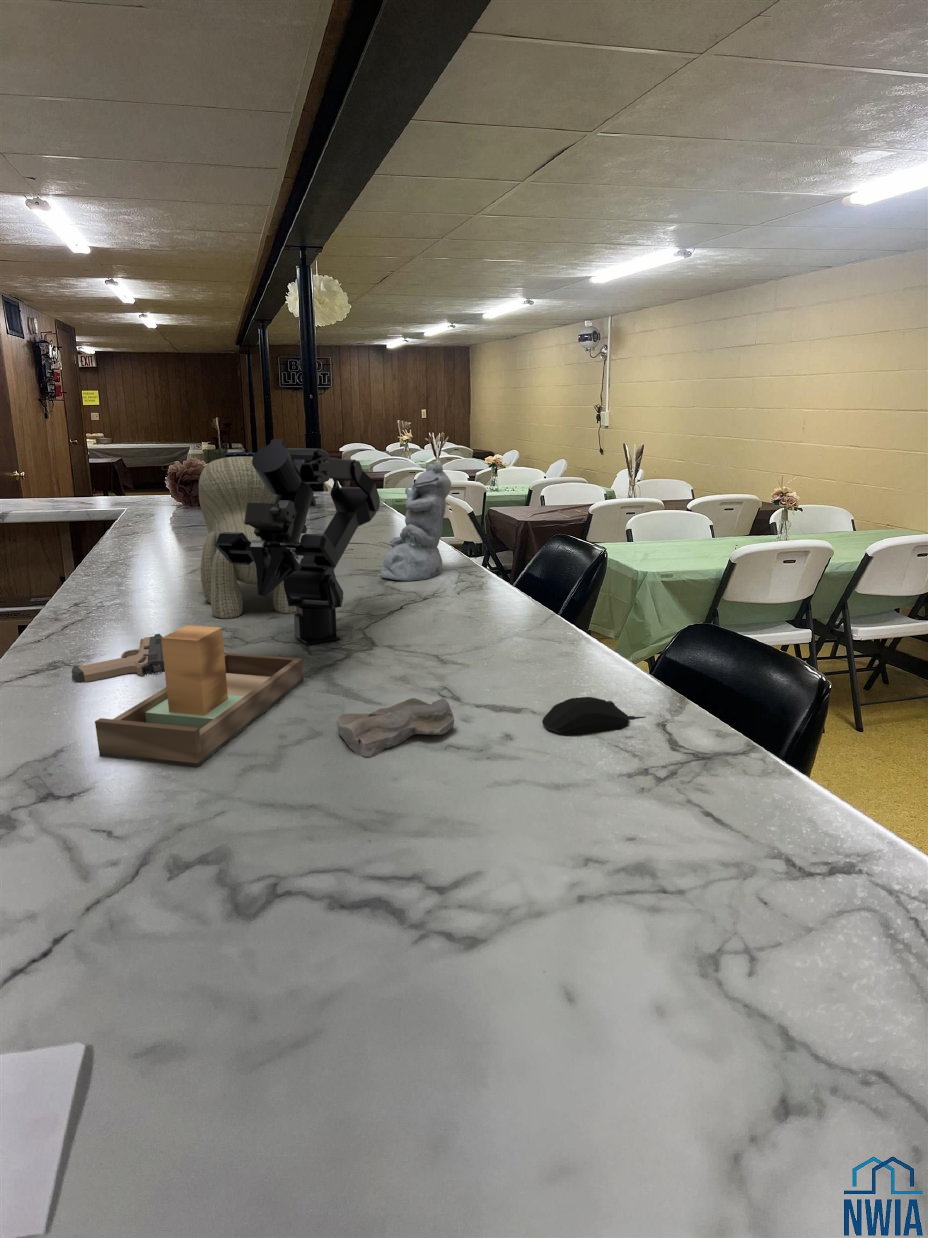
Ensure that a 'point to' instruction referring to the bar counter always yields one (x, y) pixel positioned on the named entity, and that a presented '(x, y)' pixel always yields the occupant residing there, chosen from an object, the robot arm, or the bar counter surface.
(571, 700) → the gaming mouse
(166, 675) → the block
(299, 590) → the robot arm
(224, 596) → the toy
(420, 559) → the sculpture
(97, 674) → the handgun
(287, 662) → the tray box
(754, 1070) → the bar counter surface
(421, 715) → the stone
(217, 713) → the pad
